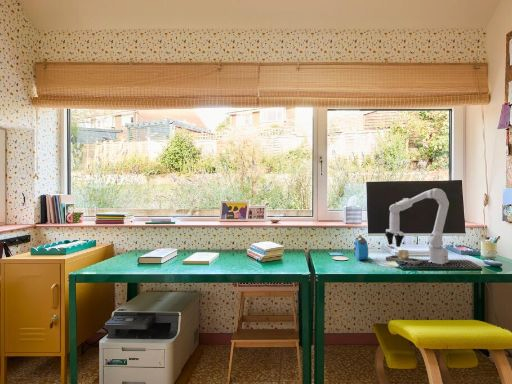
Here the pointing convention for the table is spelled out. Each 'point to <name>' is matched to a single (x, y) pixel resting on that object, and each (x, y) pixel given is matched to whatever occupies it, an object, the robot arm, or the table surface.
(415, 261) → the rail
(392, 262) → the mat
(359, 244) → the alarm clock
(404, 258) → the peg
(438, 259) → the robot arm
